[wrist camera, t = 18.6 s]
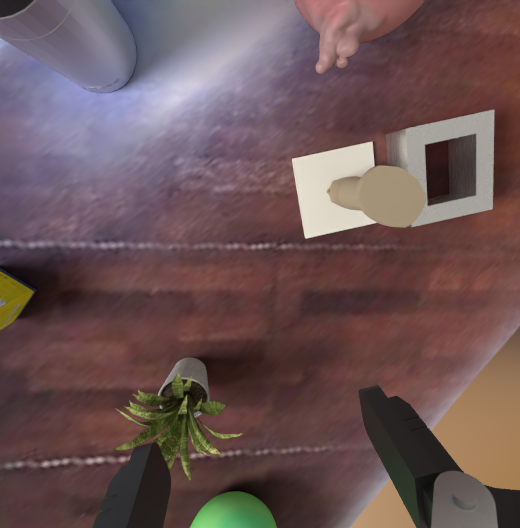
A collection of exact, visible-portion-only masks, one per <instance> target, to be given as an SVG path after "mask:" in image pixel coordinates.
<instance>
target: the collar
mask: <svg viewBox="0 0 520 528" xmlns="http://www.w3.org/2000/svg"><path fill="white" fill-rule="evenodd" d="M385 140H386V153H387V165H388V166H394V167H399V168H401V169H403V170H405V171H406V172H408V173H409V174H411V175H412V176H414V177H415V178H416V179H417V180H418V181H419V183H420V185H421V186H422V188H423V190H424V192H425V194H426V202H425V206H424V208H423V211H422V212H421V214H420V215H419V217H418V218H417V219H416V220H415V221H414V222H413V223H412V224H410V225H409V227H415V226H419V225H424V224H428V223H433V222H437V221H441V220H446V219H450V218H455V217H459V216H464V215H468V214H473V213H477V212H482V211H486V210H491V209H493V164H494V110H490V111H485V112H481V113H476V114H471V115H467V116H462V117H458V118H453V119H448V120H444V121H439V122H434V123H430V124H425V125H420V126H416V127H411V128H407V129H403V130H400V131H396V132H393V133H390V134H386V135H385ZM444 140H448V163H449V194H446V195H441V196H437V197H432V198H428V199H427V182H426V161H425V145H426V144H430V143H435V142H439V141H444Z"/></svg>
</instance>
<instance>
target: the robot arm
mask: <svg viewBox="0 0 520 528" xmlns="http://www.w3.org/2000/svg"><path fill="white" fill-rule="evenodd" d="M0 38H2V39H3V40H5V41H7V42H8V43H10V44H11V45H13V46H15V47H16V48H18V49H20V50H21V51H23V52H25V53H26V54H28V55H29V56H31V57H33V58H34V59H36V60H38V61H39V62H41V63H43V64H44V65H46V66H48V67H49V68H51V69H52V70H54V71H56V72H57V73H59V74H61V75H62V76H64V77H65V78H67V79H69V80H71V81H72V82H74V83H76V84H77V85H79V86H81V87H82V88H84V89H86V90H89V91H92V92H97V93H108V92H112V91H115V90H118V89H119V88H121V87H122V86H124V85H125V84H126V83H127V82H128V81H129V79H130V78H131V76H132V74H133V72H134V69H135V66H136V59H137V51H136V44H135V40H134V37H133V34H132V32H131V30H130V28H129V26H128V25H127V23H126V22H125V21H124V19H123V18H122V16H121V15H120V13H119V12H118V10H117V9H116V7H115V6H114V4H113V3H112V1H111V0H0ZM359 398H360V404H361V410H362V416H363V422H364V425H365V428H366V431H367V434H368V436H369V438H370V440H371V442H372V444H373V446H374V448H375V450H376V452H377V453H378V455H379V457H380V459H381V461H382V463H383V465H384V467H385V469H386V470H387V472H388V474H389V476H390V478H391V480H392V481H393V484H394V486H395V488H396V489H397V491H398V493H399V495H400V497H401V499H402V501H403V503H404V505H405V507H406V508H407V510H408V512H409V514H410V516H411V518H412V519H413V522H414V524H415V525H416V527H417V528H520V490H510V489H498V488H493V487H489V486H486V485H484V484H482V483H481V482H480V481H479V480H477V479H476V478H474V477H472V476H470V475H469V474H466V473H464V472H463V471H462V470H461V469H460V468H459V466H458V465H457V464H456V463H455V461H454V460H453V459H452V457H451V456H450V455H449V454H448V452H447V451H446V450H445V449H444V447H443V446H442V445H441V443H440V442H439V441H438V440H437V438H436V437H435V436H434V435H433V433H432V432H431V431H430V429H429V428H427V426H426V424H425V423H424V422H423V421H422V419H420V418H419V415H418V414H417V413H416V412H415V410H414V409H413V408H412V407H411V405H410V404H408V403H407V402H405V401H404V400H402V399H401V398H399V397H398V396H394V397H390V398H387V396H386V395H385V393H384V392H383V391H382V389H381V388H380V387H379V386H378V385H376V386H372V387H368V388H364V389H360V390H359ZM170 490H171V476H170V471H169V468H168V466H167V464H166V461H165V459H164V457H163V454H162V452H161V450H160V447H159V445H158V444H157V443H156V442H153V443H150V444H146V445H142V446H138V447H135V448H134V450H133V452H132V455H131V457H130V460H129V463H128V465H126V466H122V467H121V468H120V470H119V471H118V472H117V474H116V475H115V477H114V478H113V479H112V481H111V482H110V485H109V487H108V490H107V492H106V495H105V497H104V501H103V502H102V505H101V507H100V510H99V514H98V515H97V517H96V520H95V522H94V525H93V527H92V528H163V525H164V520H165V515H166V510H167V505H168V500H169V495H170Z"/></svg>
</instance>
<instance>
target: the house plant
mask: <svg viewBox="0 0 520 528" xmlns="http://www.w3.org/2000/svg"><path fill="white" fill-rule="evenodd" d="M138 392H139V396H137V395H134V396H135V397H136V399H137V400H139V401H140V402H142V403H145V404H146V405H150V406H160V408H161V409H157V410H149V409H146V408H144V407H141V406H139V405H136V404H133V403H132V402H130V405H131V408H129V407H125V408H126V409H127V410H128V411H130V412H131V413H132V414H134V415H136V416H138V417H140V418H144V419H151V420H152V421H150V422H139V421H135V420H133V419H132V418H130V417H129V416H127V415H126V414H124V413H123V412H121V411H119V410H118V411H119V412H120V413H122V414H123V415H124V416H125V417H126V418H127V419H129V420H130V421H132V422H134V423H136V424H138V425H142V426H152V427H150V428H149V429H147V430H145V431H143V432H141V433H140V434H139V435H138V436H137V437H136V438H134V439H133V440H132V441H130V442H128V443H126V444H123V445H121V446H119V447H117V448H115V449H114V450H127V449H130V448H133V447H136V446H138V445H140V444H142V443H144V442H145V441H147V440H149V439H151V438H153V437H154V436H155V435H157V434H158V433H159V432H160V431H161V430H162V429H163V428H164V427H165V426H166V425H167V424H168V423H169V424H168V426H167V428H166V429H165V430H164V431H163V432H162V433H161V434H160V435H159V436H158V437H157V438H156V439H155V440H154V441H153V442H156V443H157V444H158V445H159V444H160V450H161V452H162V454H163V457H164V459H165V461H167V459H168V458H169V456H170V455H171V456H170V460H169V464H168V468H169V470H170V469H171V467H172V465H173V462H174V459H175V457H176V453H177V450H178V446H179V442H180V455H181V461H182V465H183V468H184V471H185V473H186V475H187V476H188V478H189V480H190V481H191V474H190V470H189V462H190V460H189V454H188V430H189V434H190V438H191V441H192V444H193V445H194V447H195V449H196V450H197V451H198V452H200V453H202V454H204V455H207V456H210V455H208V454H206V453H204V452H202V451H207V450H208V451H209V452H211V453H215V454H220V453H219V452H218V450H217V449H215V448H214V447H213V446H212V444H211V443H210V441H209V440H208V439H207V438H206V437H205V436H204V434H203V433H202V431H201V429H200V427H199V425H198V423H197V421H196V419H195V417H197V416H199V415H201V414H202V413H206V414H209V415H213V416H218V415H219V414H220V413H221V412H222V410H223V409H224V407H225V406H226V405H223V404H222V403H220V402H217V401H211V402H209V388H208V380H207V371H206V367H205V365H204V364H203V363H202V362H201V361H200V360H198V359H196V358H184V359H182V360H180V361H179V362H177V364H176V365H175V367H174V368H173V370H172V371H171V373H170V375H169V376H168V378H167V379H166V381H165V383H164V384H163V386H162V387H161V389H160V391H159V394H158V396H157V395H154V394H150V393H143V392H140V391H139V390H138ZM115 409H116V408H115ZM116 410H117V409H116ZM197 419H198V418H197ZM198 420H199V419H198ZM199 421H200V420H199ZM200 423H201V424H202V425H203V426H204V427H205V428H206V429H207V430H208V431H209V432H210V433H212V434H213V435H214V436H217V437H219V438H232V437H237V436H239V435H242V434H232V435H225V434H218V433H215V432H213V431H211V430H210V429H208V428H207V427H206V426H205V425H204V424H203V423H202V422H201V421H200ZM191 435H192V436H191ZM192 438H193V439H192ZM153 442H152V443H153ZM201 450H202V451H201Z"/></svg>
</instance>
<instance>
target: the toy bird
mask: <svg viewBox="0 0 520 528" xmlns="http://www.w3.org/2000/svg"><path fill="white" fill-rule="evenodd" d="M190 528H277V526H276V523H275V520H274V518H273V516H272V514H271V512H270V510H269V509H268V508H267V506H266V505H265V504H264V503H263V502H262V501H261V500H259V499H258V498H256V497H255V496H253V495H251V494H248V493H245V492H240V491H232V492H226V493H223V494H220V495H218V496H216V497H214V498H212V499H211V500H210V501H208V502H207V503H206V504H205V505H204V506H203V507H202V509H201V510H200V511H199V513H198V514H197V516H196V517H195V519H194V521H193V523H192V525H191V527H190Z"/></svg>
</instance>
